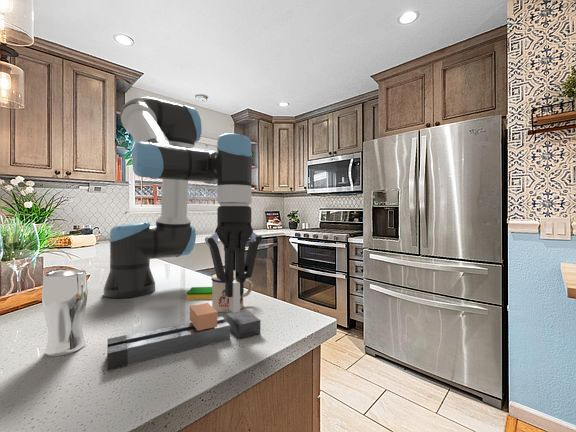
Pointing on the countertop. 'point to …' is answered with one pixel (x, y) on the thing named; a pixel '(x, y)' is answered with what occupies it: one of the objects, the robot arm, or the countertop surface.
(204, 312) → the peach rectangular block
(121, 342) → the tong arm
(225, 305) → the teacup with lid
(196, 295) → the dish sponge
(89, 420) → the countertop surface
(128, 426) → the countertop surface
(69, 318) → the beer glass
